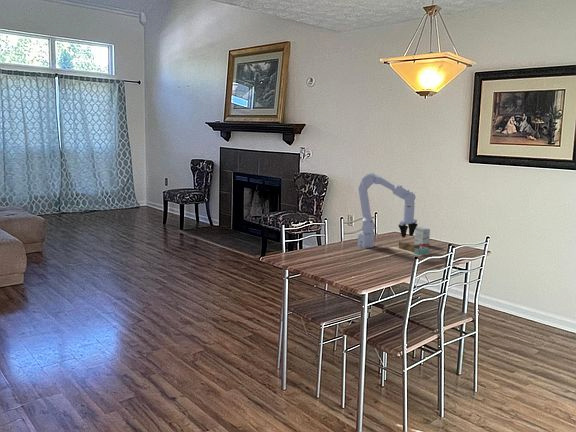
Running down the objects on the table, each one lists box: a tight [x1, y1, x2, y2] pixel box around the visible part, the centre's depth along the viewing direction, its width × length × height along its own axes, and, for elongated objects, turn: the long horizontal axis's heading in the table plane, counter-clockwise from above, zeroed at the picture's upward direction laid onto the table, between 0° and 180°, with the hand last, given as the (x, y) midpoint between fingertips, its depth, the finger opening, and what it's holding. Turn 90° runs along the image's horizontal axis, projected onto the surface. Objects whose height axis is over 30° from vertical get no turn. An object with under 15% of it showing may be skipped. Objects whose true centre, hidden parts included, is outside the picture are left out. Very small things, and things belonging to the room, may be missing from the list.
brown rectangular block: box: [398, 240, 421, 252], centre depth 292 cm, size 12×4×4 cm, turn 36°
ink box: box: [413, 226, 431, 248], centre depth 305 cm, size 9×5×12 cm, turn 22°
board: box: [388, 245, 433, 257], centre depth 291 cm, size 13×23×1 cm, turn 36°
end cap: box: [414, 247, 430, 256], centre depth 284 cm, size 8×4×3 cm, turn 126°
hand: (407, 236), depth 292 cm, fingers open, 7 cm apart
